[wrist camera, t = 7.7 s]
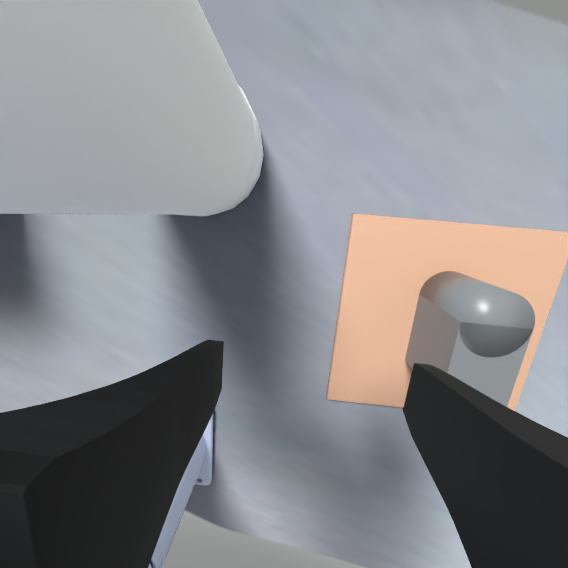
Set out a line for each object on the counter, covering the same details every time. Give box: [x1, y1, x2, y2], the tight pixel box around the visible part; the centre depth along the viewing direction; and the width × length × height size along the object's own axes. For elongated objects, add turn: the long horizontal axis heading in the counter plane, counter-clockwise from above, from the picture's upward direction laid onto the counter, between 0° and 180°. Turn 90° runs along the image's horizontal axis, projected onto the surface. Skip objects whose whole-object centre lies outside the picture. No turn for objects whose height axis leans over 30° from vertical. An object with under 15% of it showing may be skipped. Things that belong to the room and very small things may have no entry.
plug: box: [405, 271, 535, 407], centre depth 17 cm, size 4×9×5 cm, turn 175°
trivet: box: [327, 214, 568, 411], centre depth 19 cm, size 14×14×1 cm
